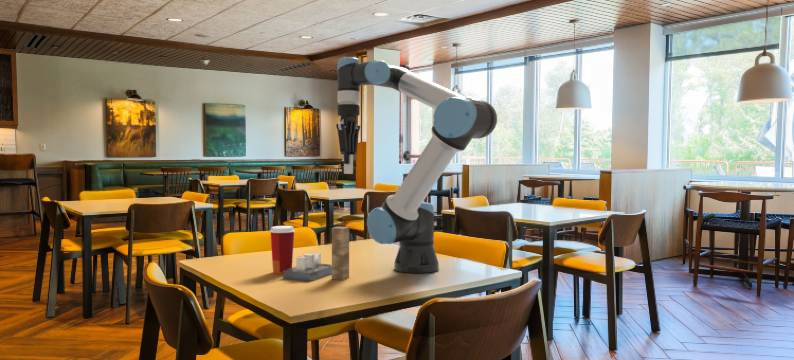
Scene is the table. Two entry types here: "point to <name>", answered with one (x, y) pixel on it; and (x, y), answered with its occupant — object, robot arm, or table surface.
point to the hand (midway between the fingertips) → (348, 173)
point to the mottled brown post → (340, 253)
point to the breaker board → (308, 269)
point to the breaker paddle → (310, 260)
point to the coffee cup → (282, 247)
